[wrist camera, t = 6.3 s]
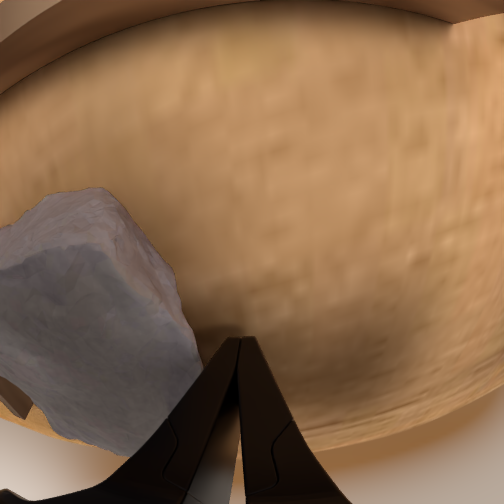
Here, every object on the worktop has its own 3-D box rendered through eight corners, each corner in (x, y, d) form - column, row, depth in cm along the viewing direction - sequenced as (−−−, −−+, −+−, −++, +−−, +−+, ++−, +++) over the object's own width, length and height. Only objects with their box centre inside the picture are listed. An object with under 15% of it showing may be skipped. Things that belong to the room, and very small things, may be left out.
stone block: (149, 146, 9) (-29, 238, 8) (104, 180, 4) (-88, 296, 4) (240, 375, 14) (89, 401, 14) (256, 454, 10) (78, 466, 10)
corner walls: (446, -9, 4) (508, -33, 1) (400, 394, 12) (415, 444, 9) (-73, 136, 6) (-112, 154, 3) (32, 382, 13) (14, 415, 11)
